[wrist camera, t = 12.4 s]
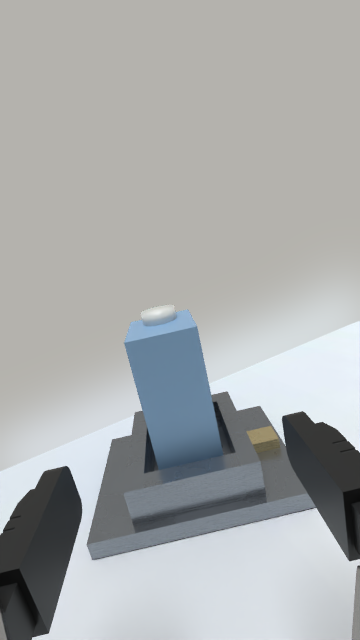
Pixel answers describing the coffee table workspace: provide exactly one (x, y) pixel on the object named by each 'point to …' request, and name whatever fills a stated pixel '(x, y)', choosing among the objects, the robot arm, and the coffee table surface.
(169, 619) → the coffee table surface
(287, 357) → the coffee table surface
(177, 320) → the blue tall box
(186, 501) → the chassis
